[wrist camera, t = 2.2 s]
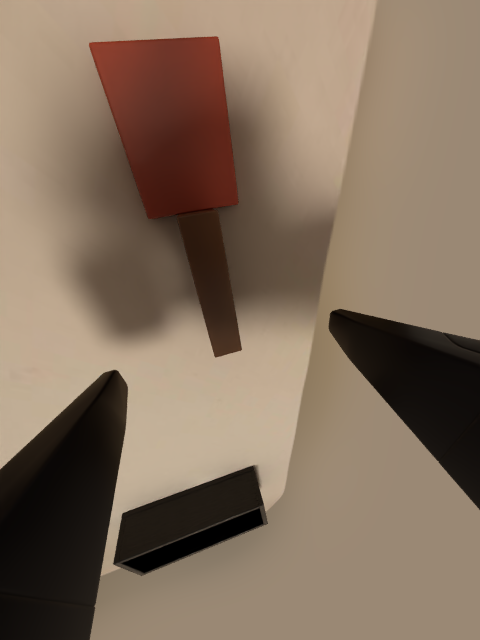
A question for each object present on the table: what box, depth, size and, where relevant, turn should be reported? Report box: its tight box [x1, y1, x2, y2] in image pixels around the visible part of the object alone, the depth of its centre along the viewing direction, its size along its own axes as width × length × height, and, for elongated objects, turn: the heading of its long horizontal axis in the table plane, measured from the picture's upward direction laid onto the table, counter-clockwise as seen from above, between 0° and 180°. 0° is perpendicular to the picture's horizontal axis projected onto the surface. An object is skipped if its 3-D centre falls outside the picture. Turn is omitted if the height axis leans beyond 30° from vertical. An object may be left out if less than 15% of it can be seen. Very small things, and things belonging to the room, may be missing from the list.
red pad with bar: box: [89, 36, 242, 357], centre depth 11 cm, size 5×15×2 cm, turn 8°
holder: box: [113, 466, 268, 576], centre depth 28 cm, size 18×8×4 cm, turn 98°
